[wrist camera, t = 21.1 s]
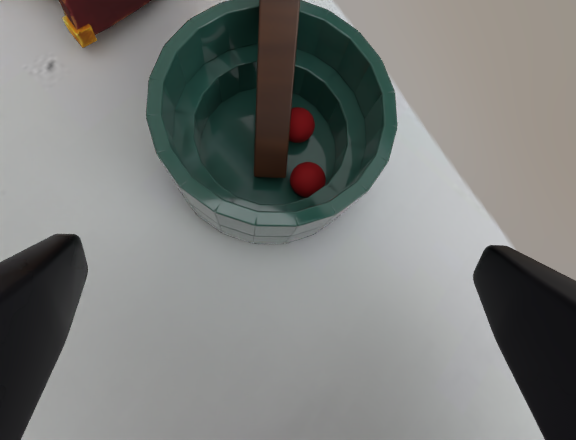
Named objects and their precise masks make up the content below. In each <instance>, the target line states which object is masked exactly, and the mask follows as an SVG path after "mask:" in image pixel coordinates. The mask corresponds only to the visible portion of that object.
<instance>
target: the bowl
mask: <svg viewBox="0 0 576 440" xmlns="http://www.w3.org/2000/svg"><path fill="white" fill-rule="evenodd" d="M258 26H259V0H230V1H225V2H222V3H219V4H217V5H215V6H213V7H211V8H209V9H207V10H206V11H204V12H202V13H200V14H198V15H196V16H194V17H192V18H191V19H190V20H188V21H187V22H186V23H185V24H184V25H183V26H182V27H181V28H180V29H179V30H178V31H177V32H176V33H175V35H174V36H173V37H172V38H171V39H170V40H169V41H168V42H167V43H166V44H165V46H164V47H163V49H162V51H161V53H160V55H159V58H158V60H157V62H156V64H155V66H154V68H153V71H152V73H151V75H150V77H149V81H148V94H147V108H146V116H147V117H146V119H147V123H148V126H149V130H150V133H151V137H152V140H153V144H154V147H155V151H156V154H157V155H158V157H159V159H160V161H161V162H162V164H163V165H164V167H165V168H166V170H167V172H168V173H169V175H170V176H171V178H172V179H173V181H174V183H175V184H176V186H177V187H178V189H179V191H180V192H181V193H182V195H183V196H184V198H185V199H186V200H187V202H188V203H189V205H190V206H191V207H192V209H193V210H194V212H195V213H196V214H197V215H198V216H199V217H201V218H202V219H203V220H205V221H206V222H207V223H209V224H210V225H211V226H213V227H214V228H216V229H217V230H218V231H220V232H221V233H224V234H225V235H228V236H232V237H235V238H238V239H241V240H244V241H247V242H250V243H255V244H284V243H289V242H292V241H295V240H299V239H302V238H305V237H308V236H311V235H314V234H316V233H317V232H319V231H320V230H321V229H323V228H324V227H325V226H327V225H328V224H330V223H331V222H332V221H334V220H335V219H336V218H338V217H339V216H340V215H341V214H342V213H344V212H345V211H346V210H347V209H348V208H349V207H351V206H352V205H353V204H354V203H355V202H356V201H358V200H359V199H360V198H361V197H362V196H363V195H365V194H366V192H368V191H369V189H370V188H371V186H372V185H373V183H374V182H375V180H376V179H377V178H378V176H379V175H380V173H381V172H382V170H383V169H384V167H385V166H386V165H387V163H388V161H389V157H390V154H391V150H392V146H393V142H394V139H395V135H396V131H397V114H396V100H395V93H394V88H393V86H392V84H391V81H390V79H389V76H388V74H387V71H386V69H385V66H384V64H383V62H382V60H381V58H380V57H379V55H378V54H377V53H376V52H375V51H374V49H373V48H372V47H371V46H370V44H369V43H368V42H367V41H366V39H365V38H364V37H363V36H362V34H361V33H360V32H358V30H356V29H355V28H353V27H352V26H351V25H349V24H348V23H346V22H345V21H344V20H342V19H341V18H339V17H338V16H336V15H335V14H334V13H332V12H331V11H329V10H327V9H324V8H322V7H319V6H316V5H313V4H310V3H308V2H305V1H302V0H300V11H299V23H298V35H297V48H296V60H295V72H294V84H293V97H292V108H295V107H301V108H304V109H306V110H308V111H309V112H310V113H311V115H312V116H313V118H314V122H315V128H314V132H313V134H312V135H311V137H310V138H309V139H307V140H306V141H304V142H300V143H294V142H291V141H289V146H288V158H287V170H286V178H268V177H254V146H255V116H256V86H257V56H258ZM303 162H312V163H315V164H317V165H319V166H320V167H321V168H322V170H323V171H324V174H325V178H326V181H325V186H323V187H322V188H320V189H319V190H318V191H316V192H315V193H313V194H312V195H310V196H309V197H307V198H306V197H302V196H299V195H298V194H296V193H295V192H294V190H293V189H292V187H291V184H290V176H291V173H292V171H293V169H294V168H295V167H296V166H297V165H299V164H301V163H303Z"/></svg>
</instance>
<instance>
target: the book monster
mask: <svg viewBox="0 0 576 440" xmlns="http://www.w3.org/2000/svg"><path fill="white" fill-rule="evenodd" d="M150 1H151V0H59V2H60V4H61V6H62V8H63V11H64V14H65V16H63V17H62V19H63V21H64V23H65V24H66V26H67V28H68V30H69V32H70V33H71V34H72V35H73V36H74V38H75V39H76V40H77V41H78V43H79V44H80V45H81V46H82V48H84V47H86V46H88V45H89V44H91V43H93V42H95V41H97V39H96V37H95V35H96V34H98V33H100V32H102V31H104V30H105V29H107V28H109V27H111V26H112V25H114V24H116V23H117V22H119V21H120V20H122V19H123V18H125V17H127V16H128V15H130V14H131V13H133V12H135V11H136V10H138V9H139V8H141V7H142V6H144V5H146V4H147V3H149V2H150Z"/></svg>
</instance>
